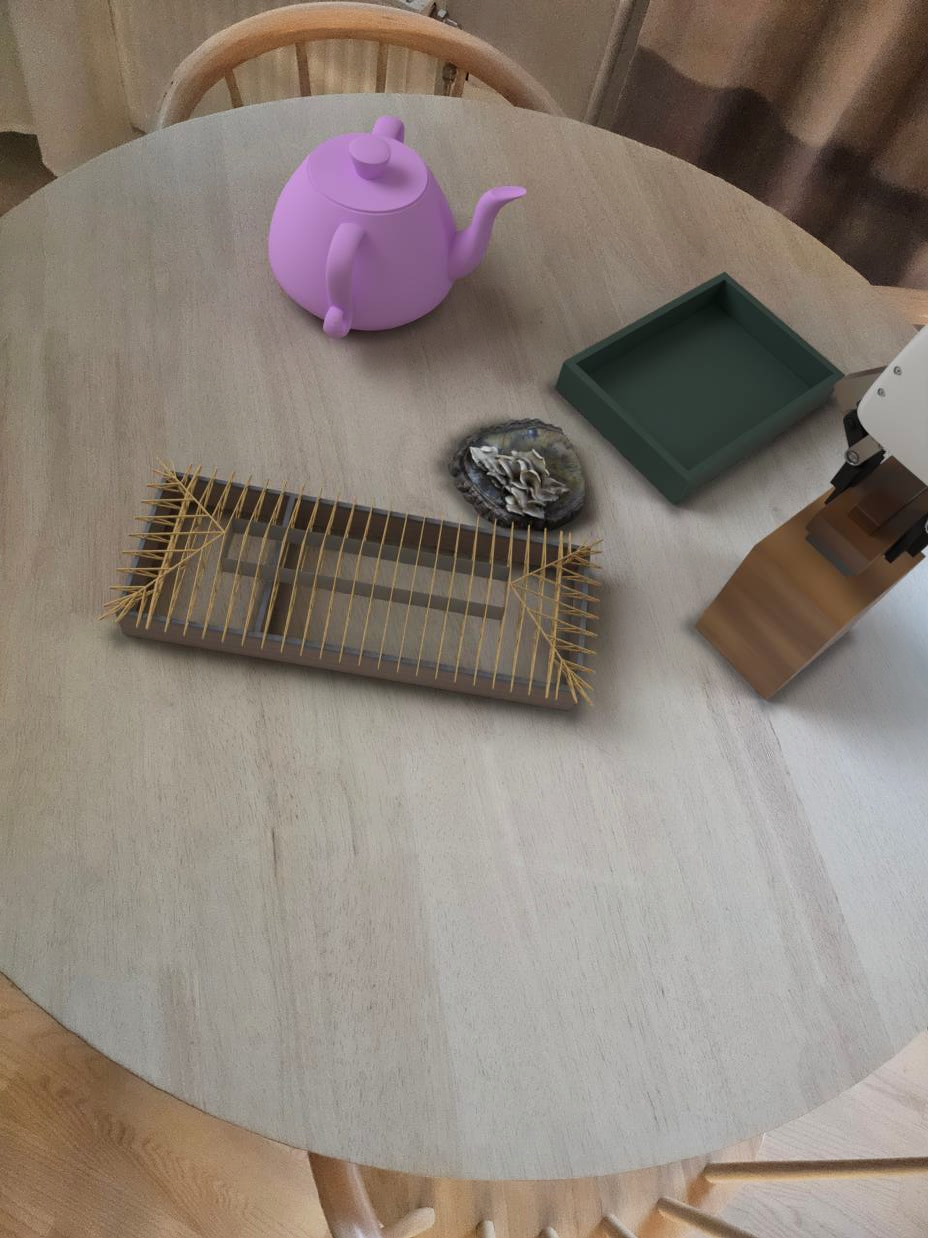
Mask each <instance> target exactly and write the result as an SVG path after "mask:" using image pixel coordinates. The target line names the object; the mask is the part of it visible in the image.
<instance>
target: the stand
mask: <svg viewBox="0 0 928 1238" xmlns="http://www.w3.org/2000/svg"><path fill="white" fill-rule="evenodd" d="M834 490H835V487H834V486H833V485H832V487H830V488H829V489H827V490H826V491H825V492H824V493H823V494H821V495H819V496H818V497H817V498H816V499H814V500H813V501H812V502H810V503H809V504H808V505H806V506H805V507H804V508H803V509H801V510H800V511H799V512H797V513H795V515H793V516H792V517H791V518H788V520H786V521H785V522H784V523H783V524H781V525H780V526H778V527H777V528H776V529H774V530H773V531H771V532H770V533H769V534H768V535H766V536H765V537H764V538H763V539H761V540H760V541H758V542H757V543H756V544H754V545H753V547H752V548H751V549H750V551H748V553H747V555H746V556H745V558H744V559H743V560H742V562H741V563H740V564H739V565H738V567H737V568H736V570H734V572H733V573H732V574H731V576H730V578H729V579H728V580H727V581H726V583H725V584H724V586H723V587H722V588H721V590H720V591H719V592H718V593H717V595H716V596H715V597H714V599H713V601H712V602H711V603H710V604H709V606H708V607H707V608H706V610H705V611H704V612H703V614H702V615H701V616H700V618H699V619H698V620H697V622H696V623H695V624H694V628H695V629H696V630H697V631H698V632H699V633H700V634H701V635H702V636H703V637H704V638H705V639H706V641H708V642H709V643H710V644H711V645H712V647H714V649H716V651H718V652H719V654H721V656H723V658H724V659H725V660H726V661H727V662H728V663H729V664H730V665H731V666H732V667H733V668H734V669H735V670H736V671H737V672H738V673H739V674H740V675H741V676H742V677H743V678H744V679H745V681H747V682H748V683H749V684H750V685H751V686H752V688H753V689H754V690H755V691H756V692H757V693H759V694H760V696H762V698H764V700H766V701H768V700H769V699H770V698H771V697H772V696H774V695H775V694H777V693H778V691H780V690H781V689H782V688H784V686H786V685H787V684H788V683H789V682H790V681H791V680H793V679H794V678H795V677H796V676H797V675H798V674H800V673H801V672H802V671H803V670H804V669H806V668H807V667H808V666H809V665H810V664H811V663H812V662H814V661H815V660H816V659H817V658H818V657H819V656H821V655H822V654H823V653H824V652H825V651H826V650H828V649H829V648H830V647H831V646H832V645H833V644H834V643H836V642H837V641H838V640H839V639H840V638H842V637H843V636H844V635H845V634H847V632H848V631H849V630H850V629H851V628H852V627H853V626H855V625H856V624H857V623H858V622H859V621H860V620H861V619H862V618H863V617H864V616H865V615H866V614H867V613H868V612H869V611H870V610H872V609H873V608H874V606H876V605H877V604H878V603H879V602H880V601H881V600H882V599H884V597H885V596H886V595H887V594H888V593H889V592H891V590H893V589H894V588H895V587H896V586H897V585H898V584H899V583H900V582H901V581H902V580H903V579H904V578H905V577H907V575H908V574H910V572H912V571H913V570H914V569H915V568H916V567H917V566H918V565H919V564H920V563H921V562H922V561H923V560H924V559H925V558H926V557H927V556H926V554H924V553H923V551H921V552H920V553H919V554H918V555H916V556H915V557H914V558H913V557H912V556H911V555H910V554H908V553H907V552H906V551H905V552H904V553H903V554H902V555H901V556H899V557H898V558H897V559H896V560H895V561H893V562H892V563H891V564H890V563H889V562H888V561H887V560H886V559H885V557H886V556H884V555H882V556H881V557H880V558H879V559H877V560H876V561H875V562H874V563H873V564H871V565H870V566H869V567H868V568H867V569H865V570H864V571H863V572H862V573H861V574H859V575H858V576H856V575H855V574H853V575H852V576H851V577H849V578H848V579H847V578H846V577H845V576H844V575H843V574H842V573H841V572H840V571H839V570H838V569H836V568H835V567H834V566H833V565H832V564H831V563H830V562H829V561H828V560H827V559H826V558H825V557H824V556H823V555H821V554H820V553H819V552H818V551H817V550H816V549H815V548H814V547H813V546H812V545H811V544H810V543H809V542H808V541H807V540H805V537H806V536H807V535H808V534H809V532H808V531H807V530H806V529H805V527H806V525H807V524H808V523H809V522H810V520H811V519H812V518H813V517H814V515H815V514H816V513H817V512H818V511H819V510H821V509H822V508H823V507H825V506H826V505H825V504H824V502H825V501H826V500H827V498H828V497H829V496H830V495H831V493H832V492H833V491H834Z"/></svg>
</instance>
